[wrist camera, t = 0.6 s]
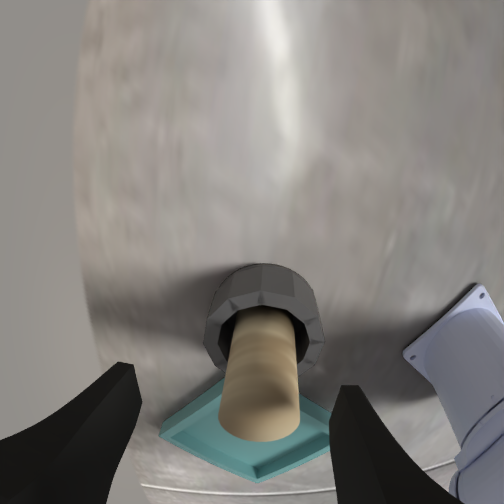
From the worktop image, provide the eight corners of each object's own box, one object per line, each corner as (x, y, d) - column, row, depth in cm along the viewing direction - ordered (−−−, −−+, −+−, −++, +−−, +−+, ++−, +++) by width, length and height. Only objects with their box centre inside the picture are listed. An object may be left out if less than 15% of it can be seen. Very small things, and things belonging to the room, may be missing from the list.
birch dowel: (304, 313, 20) (316, 418, 12) (266, 344, 21) (261, 449, 13) (263, 279, 19) (255, 381, 12) (226, 314, 20) (202, 418, 13)
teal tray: (348, 423, 25) (351, 438, 23) (258, 470, 29) (257, 483, 27) (247, 359, 22) (245, 376, 21) (163, 421, 26) (158, 436, 25)
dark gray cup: (337, 307, 20) (346, 340, 17) (267, 363, 23) (266, 398, 19) (261, 242, 19) (259, 267, 16) (194, 310, 21) (182, 342, 18)
